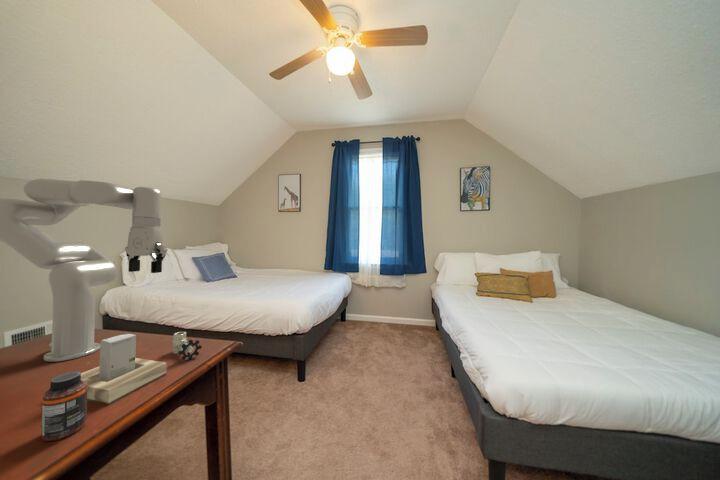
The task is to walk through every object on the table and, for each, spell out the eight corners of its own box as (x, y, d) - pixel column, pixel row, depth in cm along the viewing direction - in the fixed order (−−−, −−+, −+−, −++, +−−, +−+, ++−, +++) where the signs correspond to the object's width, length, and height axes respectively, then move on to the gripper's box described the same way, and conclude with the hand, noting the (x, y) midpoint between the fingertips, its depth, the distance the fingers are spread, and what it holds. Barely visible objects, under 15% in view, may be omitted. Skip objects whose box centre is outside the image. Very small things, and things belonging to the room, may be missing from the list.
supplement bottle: (65, 421, 53) (67, 368, 53) (95, 420, 54) (96, 368, 54) (30, 443, 47) (32, 384, 47) (64, 442, 48) (66, 383, 48)
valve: (166, 353, 86) (178, 364, 79) (166, 334, 86) (179, 343, 79) (187, 347, 91) (201, 356, 84) (188, 329, 91) (202, 337, 84)
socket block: (60, 395, 62) (60, 381, 62) (124, 367, 75) (124, 356, 75) (108, 405, 58) (108, 390, 58) (166, 374, 72) (166, 362, 72)
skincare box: (107, 389, 63) (109, 342, 64) (97, 386, 65) (99, 340, 65) (136, 377, 69) (137, 334, 69) (126, 374, 71) (127, 332, 71)
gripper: (115, 222, 84) (113, 272, 84) (155, 222, 80) (153, 274, 80) (138, 224, 91) (137, 269, 91) (176, 224, 88) (175, 271, 87)
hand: (145, 272), depth 86 cm, fingers open, 9 cm apart
